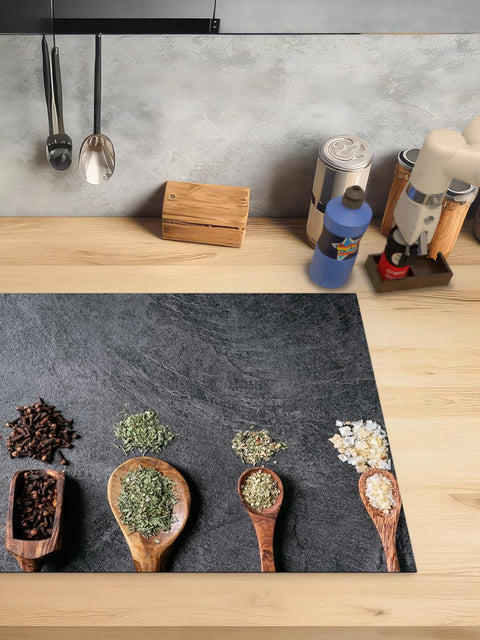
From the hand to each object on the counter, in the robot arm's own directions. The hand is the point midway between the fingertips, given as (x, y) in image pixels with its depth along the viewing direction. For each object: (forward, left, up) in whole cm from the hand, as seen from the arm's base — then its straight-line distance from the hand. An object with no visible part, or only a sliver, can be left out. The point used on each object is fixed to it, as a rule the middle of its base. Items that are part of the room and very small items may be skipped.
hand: (399, 252), depth 159 cm
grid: (-4, 0, -8) cm, 9 cm away
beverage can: (0, 0, -7) cm, 7 cm away
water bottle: (+13, -3, -8) cm, 16 cm away
